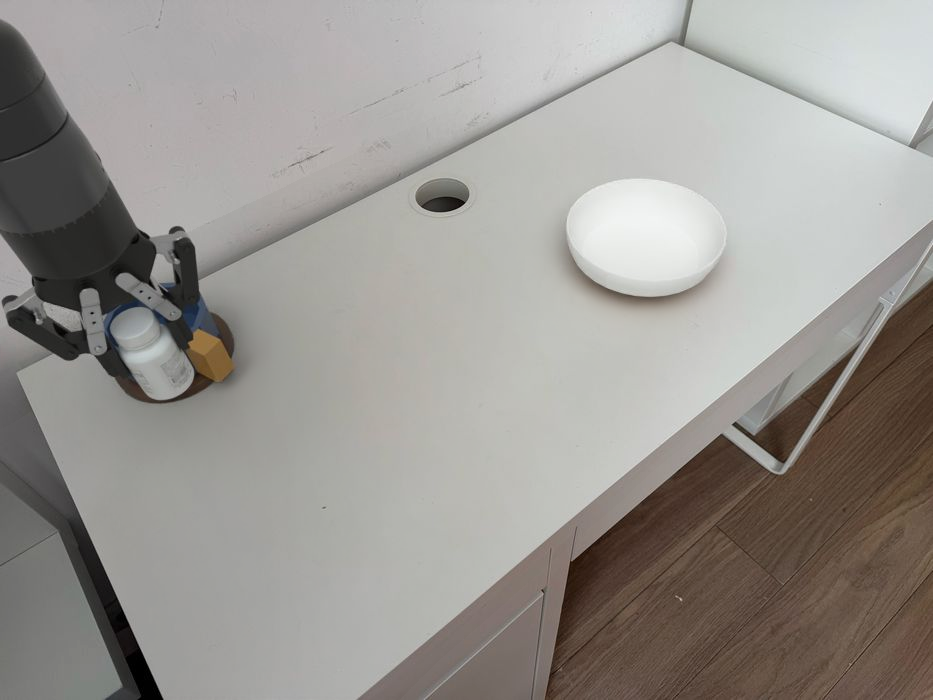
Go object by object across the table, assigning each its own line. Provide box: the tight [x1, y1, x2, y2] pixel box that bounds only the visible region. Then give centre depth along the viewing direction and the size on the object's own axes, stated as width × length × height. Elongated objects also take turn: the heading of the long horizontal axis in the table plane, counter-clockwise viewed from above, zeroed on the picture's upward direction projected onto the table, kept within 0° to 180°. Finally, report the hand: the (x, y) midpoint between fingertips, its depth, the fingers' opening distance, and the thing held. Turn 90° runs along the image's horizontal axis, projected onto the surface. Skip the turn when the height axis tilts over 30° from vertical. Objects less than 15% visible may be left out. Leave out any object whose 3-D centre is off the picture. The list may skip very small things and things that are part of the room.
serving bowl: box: [103, 282, 235, 384], centre depth 80 cm, size 15×12×5 cm
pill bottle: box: [110, 307, 194, 400], centre depth 57 cm, size 4×4×8 cm
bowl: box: [565, 177, 728, 298], centre depth 87 cm, size 20×20×6 cm
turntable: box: [114, 311, 235, 404], centre depth 83 cm, size 14×14×1 cm
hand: (154, 356), depth 57 cm, fingers closed on pill bottle, 4 cm apart
